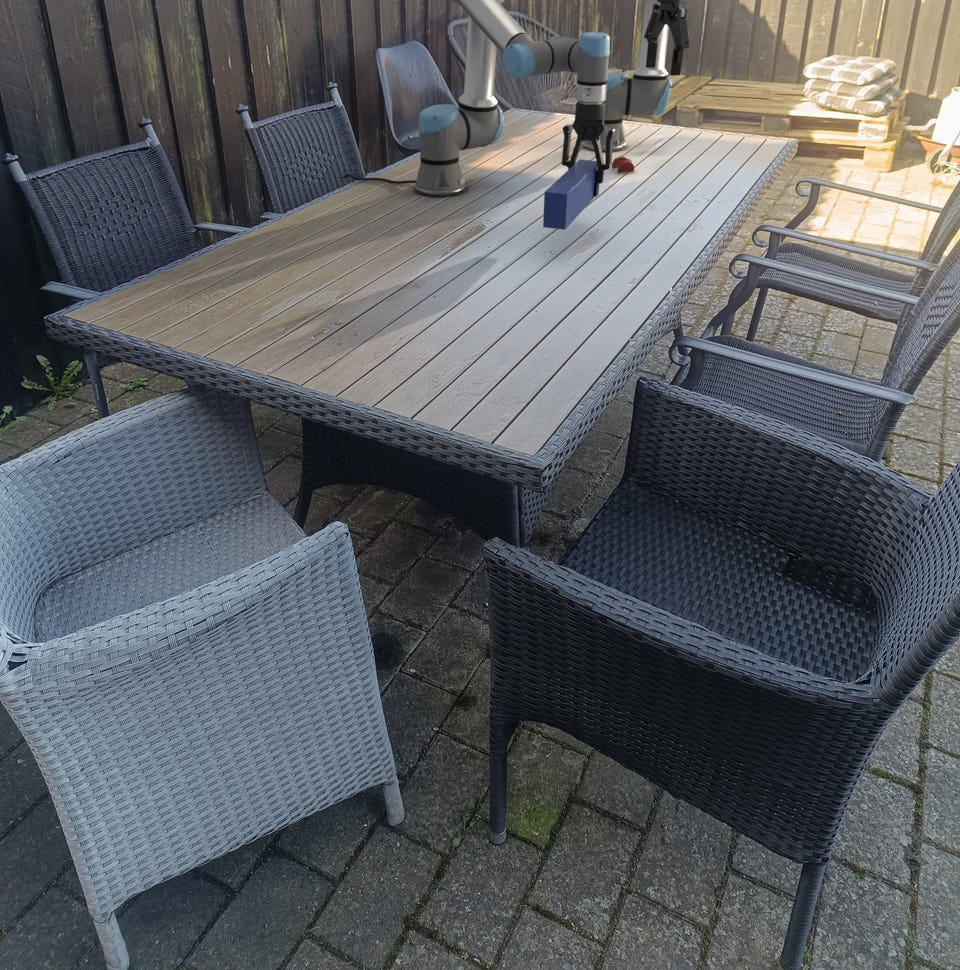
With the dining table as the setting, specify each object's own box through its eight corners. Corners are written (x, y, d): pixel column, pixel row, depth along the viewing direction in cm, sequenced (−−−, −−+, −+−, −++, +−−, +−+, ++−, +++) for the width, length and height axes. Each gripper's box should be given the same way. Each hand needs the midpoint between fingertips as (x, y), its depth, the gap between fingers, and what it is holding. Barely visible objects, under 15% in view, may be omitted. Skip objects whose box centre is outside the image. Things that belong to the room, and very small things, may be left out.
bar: (577, 191, 231) (579, 159, 226) (597, 193, 230) (600, 161, 225) (543, 227, 207) (544, 191, 202) (565, 229, 206) (567, 194, 201)
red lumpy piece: (626, 152, 277) (636, 159, 270) (626, 166, 279) (635, 172, 273) (610, 154, 276) (620, 161, 269) (610, 167, 278) (619, 174, 272)
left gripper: (551, 102, 214) (547, 194, 227) (623, 107, 208) (615, 201, 222) (559, 96, 220) (555, 186, 233) (630, 101, 214) (621, 193, 228)
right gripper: (709, -10, 222) (697, 77, 235) (660, -19, 241) (651, 63, 254) (685, -9, 220) (674, 79, 233) (637, -18, 239) (629, 64, 252)
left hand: (584, 193), depth 228 cm, fingers closed on bar, 6 cm apart
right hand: (662, 71), depth 243 cm, fingers open, 13 cm apart
